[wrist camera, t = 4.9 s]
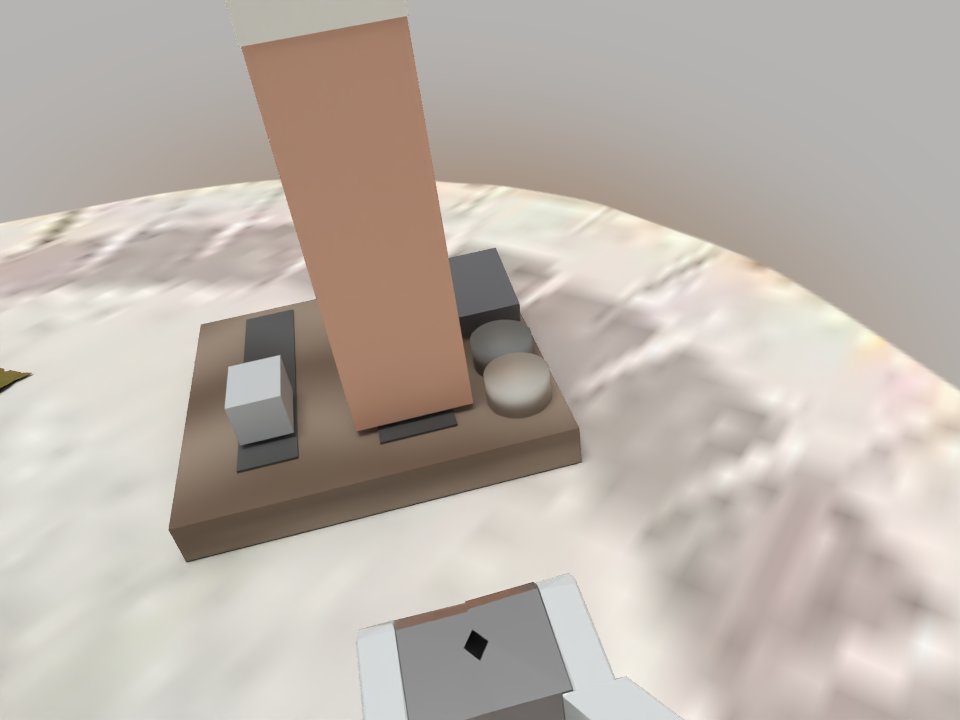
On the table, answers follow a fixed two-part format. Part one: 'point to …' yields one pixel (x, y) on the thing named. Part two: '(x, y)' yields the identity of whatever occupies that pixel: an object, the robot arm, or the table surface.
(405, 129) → the terracotta paddle
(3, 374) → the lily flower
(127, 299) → the table surface
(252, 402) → the grey fader knob
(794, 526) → the table surface
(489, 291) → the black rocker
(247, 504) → the walnut control box
